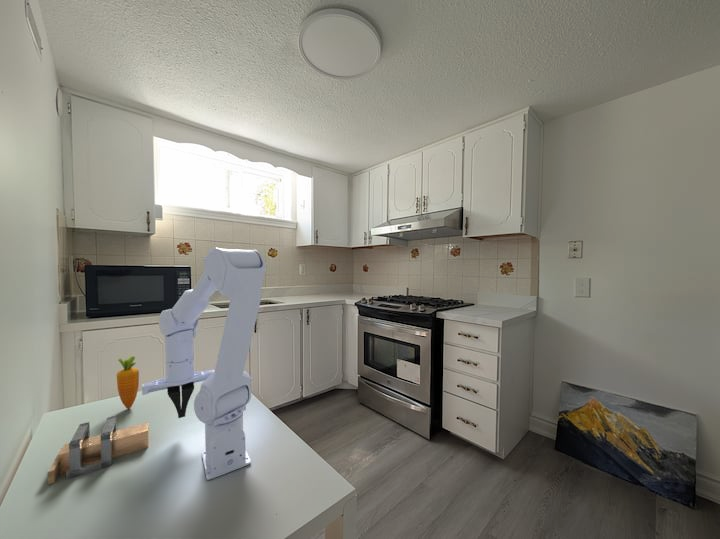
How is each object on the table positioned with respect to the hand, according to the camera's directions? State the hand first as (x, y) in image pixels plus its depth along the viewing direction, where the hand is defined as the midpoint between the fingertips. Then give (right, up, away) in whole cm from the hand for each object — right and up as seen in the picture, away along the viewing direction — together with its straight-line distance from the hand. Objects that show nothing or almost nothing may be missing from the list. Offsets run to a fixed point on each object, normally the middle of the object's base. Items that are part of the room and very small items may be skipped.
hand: (181, 415), depth 68 cm
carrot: (-23, -5, +12) cm, 26 cm away
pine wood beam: (-12, -5, -7) cm, 14 cm away
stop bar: (-17, -5, -12) cm, 21 cm away
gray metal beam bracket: (-14, -5, -9) cm, 17 cm away
